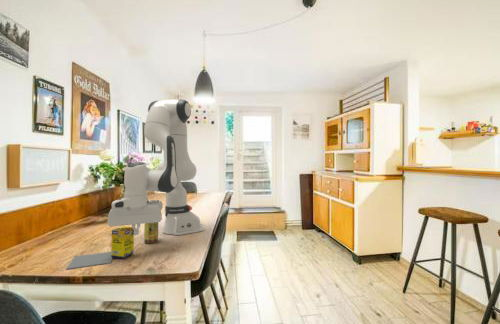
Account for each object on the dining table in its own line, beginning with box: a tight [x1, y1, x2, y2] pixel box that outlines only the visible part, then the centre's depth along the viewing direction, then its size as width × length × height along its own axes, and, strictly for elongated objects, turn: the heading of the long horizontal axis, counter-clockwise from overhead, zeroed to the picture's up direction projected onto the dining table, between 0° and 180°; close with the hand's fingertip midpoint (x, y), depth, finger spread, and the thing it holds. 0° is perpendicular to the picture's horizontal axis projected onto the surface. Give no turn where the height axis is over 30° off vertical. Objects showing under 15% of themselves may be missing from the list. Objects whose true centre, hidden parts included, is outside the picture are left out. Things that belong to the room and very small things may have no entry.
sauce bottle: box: [143, 199, 159, 244], centre depth 115 cm, size 7×6×20 cm
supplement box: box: [110, 225, 135, 259], centre depth 98 cm, size 6×6×11 cm
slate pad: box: [65, 251, 114, 271], centre depth 94 cm, size 14×12×1 cm
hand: (135, 234), depth 99 cm, fingers closed, pressing on supplement box
